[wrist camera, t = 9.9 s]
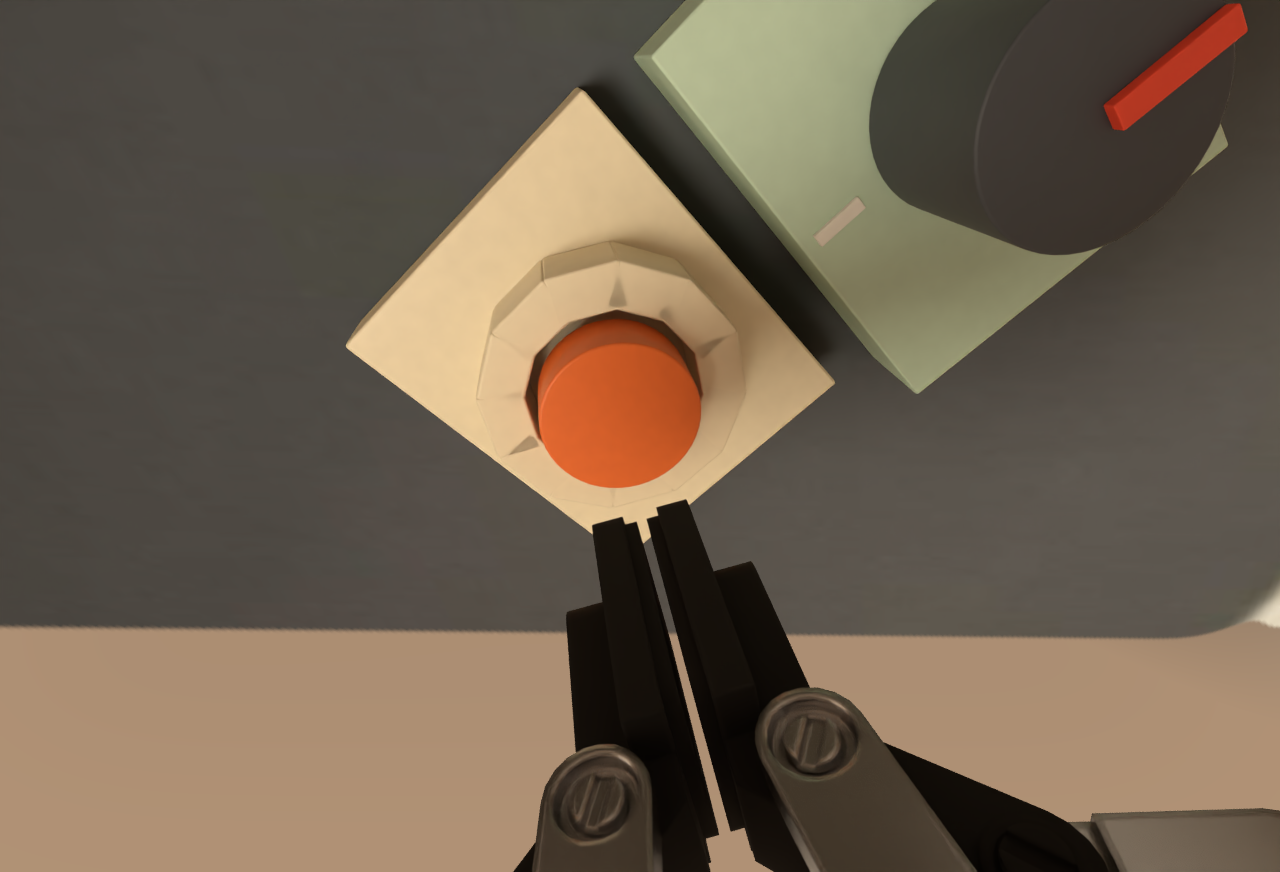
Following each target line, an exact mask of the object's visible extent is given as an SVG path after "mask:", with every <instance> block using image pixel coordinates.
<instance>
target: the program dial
mask: <svg viewBox="0 0 1280 872" xmlns="http://www.w3.org/2000/svg"><path fill="white" fill-rule="evenodd" d="M1247 31H1248V28H1247V24H1246V21H1245V18H1244V14H1243V11H1242V7H1241V4H1240V3H1236V4H1225V1H1224V0H936V1H935V2H933V3H932V4H931V5H930V6H928V7H927V8H926V9H925V10H923V11H922V12H921V13H920V14H919V15H918V16H917V17H916V18H915V19H914V20H913V21H912V22H911V23H910V24H909V25H908V27H907V28H906V29H905V30H904V32H903V33H902V34H901V35H900V37H899V38H898V40H897V41H896V43H895V44H894V46H893V47H892V49H891V51H890V52H889V54H888V56H887V58H886V60H885V62H884V64H883V66H882V68H881V71H880V74H879V76H878V79H877V82H876V85H875V88H874V92H873V96H872V101H871V108H870V116H869V134H870V144H871V149H872V154H873V158H874V160H875V163H876V166H877V169H878V171H879V173H880V175H881V176H882V178H883V180H884V181H885V183H886V184H887V185H888V187H889V188H890V189H891V190H892V191H893V192H894V193H895V194H896V195H897V196H898V197H899V198H900V199H902V200H903V201H905V202H906V203H907V204H909V205H911V206H914V207H916V208H918V209H920V210H923V211H926V212H928V213H931V214H933V215H936V216H939V217H941V218H944V219H946V220H949V221H952V222H954V223H957V224H960V225H962V226H965V227H967V228H970V229H973V230H975V231H978V232H980V233H983V234H986V235H988V236H991V237H993V238H996V239H999V240H1001V241H1004V242H1006V243H1009V244H1012V245H1014V246H1017V247H1020V248H1022V249H1025V250H1028V251H1031V252H1035V253H1039V254H1046V255H1070V254H1076V253H1082V252H1086V251H1090V250H1093V249H1096V248H1099V247H1102V246H1104V245H1107V244H1109V243H1111V242H1114V241H1116V240H1118V239H1120V238H1121V237H1123V236H1125V235H1127V234H1128V233H1130V232H1132V231H1133V230H1135V229H1136V228H1138V227H1139V226H1141V225H1142V224H1143V223H1145V222H1146V221H1148V220H1149V219H1150V218H1151V217H1152V216H1154V215H1155V214H1156V213H1157V212H1158V211H1159V210H1161V209H1162V208H1163V207H1164V206H1165V205H1166V204H1167V203H1168V202H1169V201H1170V200H1171V199H1172V198H1173V197H1174V196H1175V195H1176V193H1177V192H1178V191H1179V190H1180V189H1181V188H1182V186H1183V185H1184V184H1185V183H1186V182H1187V180H1188V179H1189V178H1190V176H1191V175H1192V174H1193V172H1194V171H1195V169H1196V168H1197V166H1198V165H1199V164H1200V162H1201V160H1202V159H1203V157H1204V155H1205V154H1206V152H1207V150H1208V149H1209V147H1210V145H1211V143H1212V141H1213V139H1214V137H1215V135H1216V133H1217V130H1218V128H1219V126H1220V123H1221V121H1222V118H1223V115H1224V113H1225V110H1226V107H1227V103H1228V100H1229V96H1230V92H1231V88H1232V82H1233V76H1234V69H1235V41H1236V40H1238V39H1239V38H1240V37H1241V36H1243V35H1244V34H1245V33H1246V32H1247Z"/></svg>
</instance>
